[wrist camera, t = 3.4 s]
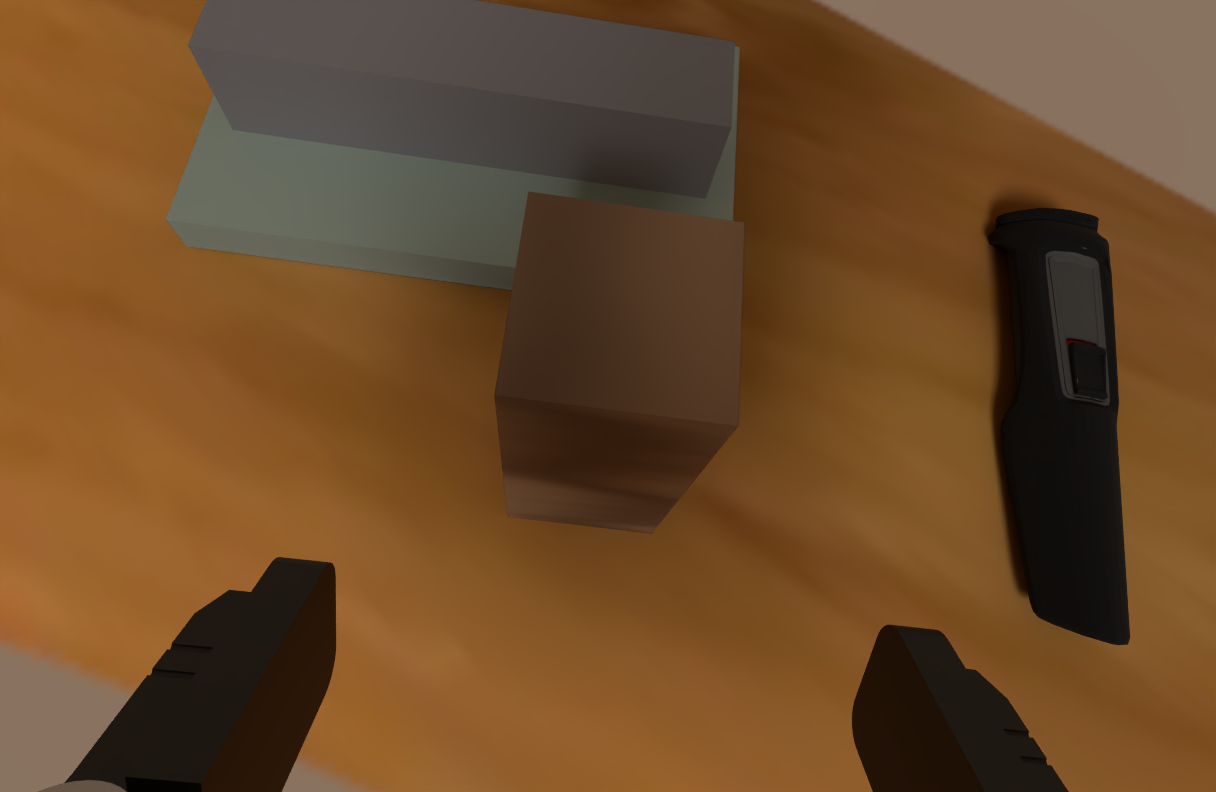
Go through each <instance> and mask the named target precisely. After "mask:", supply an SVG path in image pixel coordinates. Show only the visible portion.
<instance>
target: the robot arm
mask: <svg viewBox="0 0 1216 792" xmlns="http://www.w3.org/2000/svg"><path fill="white" fill-rule="evenodd" d="M335 654H336V576H335V568H334V565H333V564H332V563H329V562H320V561H311V560H301V559H292V558H283V557H278V558H276V559H274V560H273V561H272V563H271V564H270V565H269V567H268V568H267V570H266V571H265V573H264V574H263V576H262V577H261V578H260V580H259V581H258V583H257V584H256V586H255V587H254V589H253V590H252V592H245V591H236V590H229V591H227V592H226V593H224V594H223V595H221V596H220V597H218V598H217V599H215V600H214V601H212V602H211V603H209V604H208V605H206V606H205V607H203V608H202V609H201V610H199V611H198V612H196V613H195V614H194V615H193V616H192V618H191V619H190V620H189V621H188V623H187V624H186V625H185V627H184V628H183V629H182V631H181V632H180V633H179V635H178V636H177V637H176V639H175V640H174V641H173V642H172V646H171V649H170V650H168V649H167V650H166V652H165V653H164V654H163V656H162V657H161V658H160V659H159V661H158V662H157V663H156V665H155V666H154V667H153V670H152V674H151V675H147V677H146V678H145V679H144V680H143V682H142V683H141V684H140V686H139V687H138V688H137V690H136V691H135V692H134V694H133V695H132V696H131V697H130V699H129V700H128V701H127V703H126V704H125V705H124V707H123V708H122V709H121V711H120V712H119V713H118V715H117V716H116V717H115V718H114V720H113V721H112V722H111V724H110V725H109V726H108V728H107V729H106V731H105V732H104V733H103V734H102V735H101V737H100V738H99V739H98V741H97V742H96V743H95V745H94V746H93V747H92V749H91V750H90V751H89V753H88V754H87V755H86V756H85V758H84V759H83V760H82V762H81V763H80V764H79V766H78V767H77V768H76V770H75V771H74V772H73V774H72V775H71V776H70V777H69V778H68V779H67V781H66V782H65V783H63V784H59V785H56V786H53V787H50V788H47V789H44V790H42V791H39V792H282V790H283V787H284V785H285V783H286V781H287V779H288V776H289V774H290V772H291V770H292V767H293V765H294V763H295V761H296V759H297V756H298V754H299V752H300V750H301V747H302V745H303V743H304V741H305V739H306V736H307V734H308V732H309V730H310V727H311V725H312V723H313V721H314V719H315V716H316V714H317V712H318V710H319V707H320V705H321V703H322V701H323V699H324V696H325V694H326V691H327V689H328V686H329V683H330V679H331V676H332V672H333V667H334V661H335ZM852 730H853V737H854V742H855V745H856V748H857V751H858V754H859V756H860V759H861V762H862V764H863V767H864V770H865V772H866V775H867V777H868V780H869V783H870V785H871V788H872V791H873V792H1068V790H1067V789H1066V787H1065V786H1064V784H1063V783H1062V781H1061V780H1060V778H1059V777H1058V775H1057V774H1056V772H1055V771H1054V769H1053V767H1052V766H1050V765H1047V763H1046V759H1047V758H1046V757H1045V755H1044V754H1043V752H1042V751H1041V749H1040V748H1039V746H1038V745H1037V743H1036V742H1035V740H1034V738H1030V737H1029V734H1028V733H1029V731H1028V729H1027V728H1026V726H1025V725H1024V723H1023V722H1022V720H1021V719H1020V717H1019V716H1018V714H1017V713H1016V711H1015V710H1014V708H1013V706H1012V705H1011V703H1010V702H1009V700H1008V699H1007V698H1006V697H1005V696H1004V695H1003V694H1002V693H1000V692H999V691H998V690H997V689H996V688H995V687H994V686H993V685H992V684H991V683H989V682H988V681H987V680H986V679H985V678H984V677H983V676H982V675H981V674H980V673H979V672H977V671H976V670H971V669H966V668H965V667H964V665H963V663H962V662H961V660H960V659H959V657H958V655H957V654H956V652H955V650H954V649H953V647H952V646H951V644H950V642H949V641H948V639H947V638H946V636H945V635H944V634H943V633H942V632H940V631H939V630H934V629H925V628H915V627H906V626H897V625H886V626H884V627H883V628H882V629H881V630H880V632H879V634H878V636H877V639H876V642H875V645H874V647H873V650H872V653H871V656H870V659H869V661H868V664H867V667H866V670H865V672H864V675H863V678H862V681H861V684H860V686H859V689H858V692H857V695H856V698H855V701H854V705H853V711H852Z"/></svg>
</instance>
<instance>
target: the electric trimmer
mask: <svg viewBox="0 0 1216 792" xmlns="http://www.w3.org/2000/svg"><path fill="white" fill-rule="evenodd" d="M1098 221H1099V219H1098V218H1097V217H1095V216H1093V215H1090V214H1085V213H1081V212H1076V211H1072V210H1065V209H1055V208H1036V209H1028V210H1020V211H1015V212H1010V213H1005V214H1003V215H1001V216H998V217H997V219H996V230H995V231H993V232H992V233H991V234H990V235H989V242H990V244H991V245H993V246H998V247H1000V248H1002V249H1003V250H1004V251H1005V252H1007V256H1008V262H1009V276H1010V291H1011V306H1012V321H1013V337H1014V352H1015V367H1016V382H1017V392H1016V395H1015V397H1014V400H1013V402H1012V404H1011V406H1010V408H1009V410H1008V412H1007V413H1006V415H1005V417H1004V419H1003V421H1002V423H1001V440H1002V448H1003V457H1004V462H1005V468H1006V473H1007V479H1008V484H1009V490H1010V495H1011V501H1012V506H1013V512H1014V517H1015V523H1016V528H1017V534H1018V539H1019V545H1020V550H1021V556H1022V561H1023V567H1024V572H1025V578H1026V583H1027V589H1028V594H1029V600H1030V603H1031V606H1032V609H1033V612H1034V613H1035V614H1036V615H1037V616H1038V617H1039V618H1040V619H1043V620H1045V621H1047V622H1049V623H1051V624H1054V625H1056V626H1059V627H1062V628H1064V629H1067V630H1070V631H1072V632H1075V633H1078V634H1081V635H1083V636H1087V637H1090V638H1093V639H1097V640H1100V641H1103V642H1107V643H1110V644H1115V645H1126V644H1128V642H1129V639H1130V629H1129V614H1128V598H1127V582H1126V567H1125V551H1124V535H1123V520H1122V504H1121V488H1120V473H1119V457H1118V441H1117V426H1116V425H1117V415H1118V406H1119V397H1118V375H1117V358H1116V341H1115V324H1114V307H1113V290H1112V274H1111V266H1110V256H1109V244H1108V242H1107V240H1106V239H1105V238H1103V237H1102V236H1100V235H1099V234H1098V233H1097V229H1098Z"/></svg>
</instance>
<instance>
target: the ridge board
mask: <svg viewBox="0 0 1216 792" xmlns="http://www.w3.org/2000/svg"><path fill="white" fill-rule="evenodd" d="M188 46H189V48H190V50H191V52H192V54H193V56H194V57H195V59H196V61H197V63H198V65H199V67H200V69H201V71H202V73H203V75H204V76H205V78H206V80H207V82H208V84H209V86H210V88H211V90H212V92H213V94H214V96H213V98H212V101H211V103H210V106H209V109H208V111H207V114H206V116H205V119H204V122H203V124H202V127H201V129H200V132H199V134H198V137H197V140H196V142H195V145H194V147H193V150H192V153H191V155H190V158H189V160H188V163H187V166H186V168H185V171H184V173H183V176H182V179H181V181H180V184H179V186H178V189H177V192H176V194H175V197H174V199H173V202H172V205H171V207H170V210H169V212H168V215H167V218H166V221H167V222H168V223H169V225H170V226H171V227H172V228H173V230H174V231H175V232H176V234H177V235H178V236H179V238H180V239H181V240H182V241H183V243H184V244H185V245H186V246H188V247H196V248H203V249H210V250H218V251H225V252H233V253H240V254H247V255H255V256H262V257H269V258H277V259H284V260H292V261H299V262H306V263H314V264H321V265H328V266H336V267H343V268H351V269H358V270H365V271H373V272H380V273H388V274H395V275H402V276H410V277H417V278H424V279H432V280H439V281H447V282H454V283H461V284H469V285H476V286H483V287H491V288H498V289H506V290H512V286H513V280H514V274H515V268H516V262H517V256H518V250H519V244H520V238H521V232H522V226H523V220H524V214H525V208H526V202H527V196H528V191H529V192H536V193H543V194H550V195H557V196H564V197H571V198H578V199H585V200H592V201H599V202H606V203H613V204H620V205H627V206H634V207H641V208H648V209H654V210H661V211H668V212H675V213H682V214H689V215H696V216H703V217H710V218H717V219H724V220H731V221H733V210H734V183H735V157H736V130H737V104H738V78H739V51H740V47H737V46H735V41H729V40H723V39H717V38H710V37H704V36H698V35H692V34H685V33H679V32H673V31H666V30H660V29H654V28H647V27H641V26H635V25H628V24H622V23H616V22H610V21H603V20H597V19H591V18H584V17H578V16H572V15H565V14H559V13H553V12H547V11H540V10H534V9H528V8H521V7H515V6H509V5H502V4H496V3H490V2H484V1H477V0H207V1H206V3H205V6H204V8H203V10H202V13H201V15H200V18H199V20H198V22H197V25H196V27H195V30H194V32H193V34H192V37H191V39H190V42H189V44H188Z"/></svg>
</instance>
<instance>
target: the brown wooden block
mask: <svg viewBox="0 0 1216 792" xmlns="http://www.w3.org/2000/svg"><path fill="white" fill-rule="evenodd" d="M744 227H745V222H738V221H731V220H724V219H717V218H710V217H703V216H696V215H689V214H682V213H675V212H668V211H661V210H654V209H648V208H641V207H634V206H627V205H620V204H613V203H606V202H599V201H592V200H585V199H578V198H571V197H564V196H557V195H550V194H543V193H536V192H529V191H528V196H527V202H526V208H525V214H524V220H523V226H522V232H521V238H520V244H519V250H518V256H517V262H516V268H515V274H514V280H513V286H512V293H511V299H510V305H509V311H508V317H507V323H506V329H505V335H504V341H503V347H502V353H501V359H500V365H499V371H498V377H497V383H496V389H495V404H496V414H497V423H498V432H499V441H500V450H501V460H502V469H503V478H504V487H505V497H506V506H507V515H508V517H516V518H524V519H533V520H541V521H550V522H558V523H567V524H575V525H584V526H593V527H601V528H610V529H618V530H627V531H635V532H644V533H652V532H653V531H654V529H655V528H656V527H657V526H658V524H659V523H660V522H661V521H662V520H663V518H664V517H665V516H666V515H667V513H668V512H669V511H670V510H671V508H672V507H673V506H674V505H675V503H676V502H677V501H678V500H679V499H680V497H681V496H682V495H683V494H684V492H685V491H686V490H687V489H688V487H689V486H690V485H691V484H692V483H693V481H694V480H695V479H696V478H697V476H698V475H699V474H700V473H701V471H702V470H703V469H704V468H705V466H706V465H707V464H708V463H709V462H710V460H711V459H712V458H713V457H714V455H715V454H716V453H717V452H718V450H719V449H720V448H721V447H722V445H723V444H724V443H725V442H726V441H727V439H728V438H729V437H730V436H731V434H732V433H733V432H734V431H735V429H736V428H737V427H738V423H739V390H740V357H741V325H742V292H743V259H744Z"/></svg>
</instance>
